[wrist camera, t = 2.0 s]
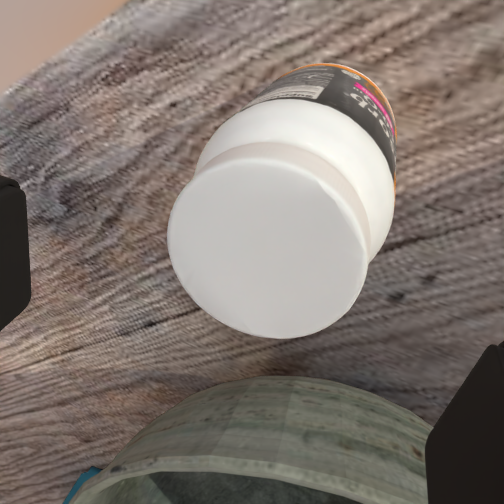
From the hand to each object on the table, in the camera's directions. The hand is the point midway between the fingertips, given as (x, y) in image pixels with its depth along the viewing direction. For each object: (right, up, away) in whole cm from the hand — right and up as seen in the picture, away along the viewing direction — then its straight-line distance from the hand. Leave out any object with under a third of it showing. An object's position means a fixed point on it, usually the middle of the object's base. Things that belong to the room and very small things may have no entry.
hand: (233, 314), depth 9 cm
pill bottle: (+3, +6, +10) cm, 12 cm away
